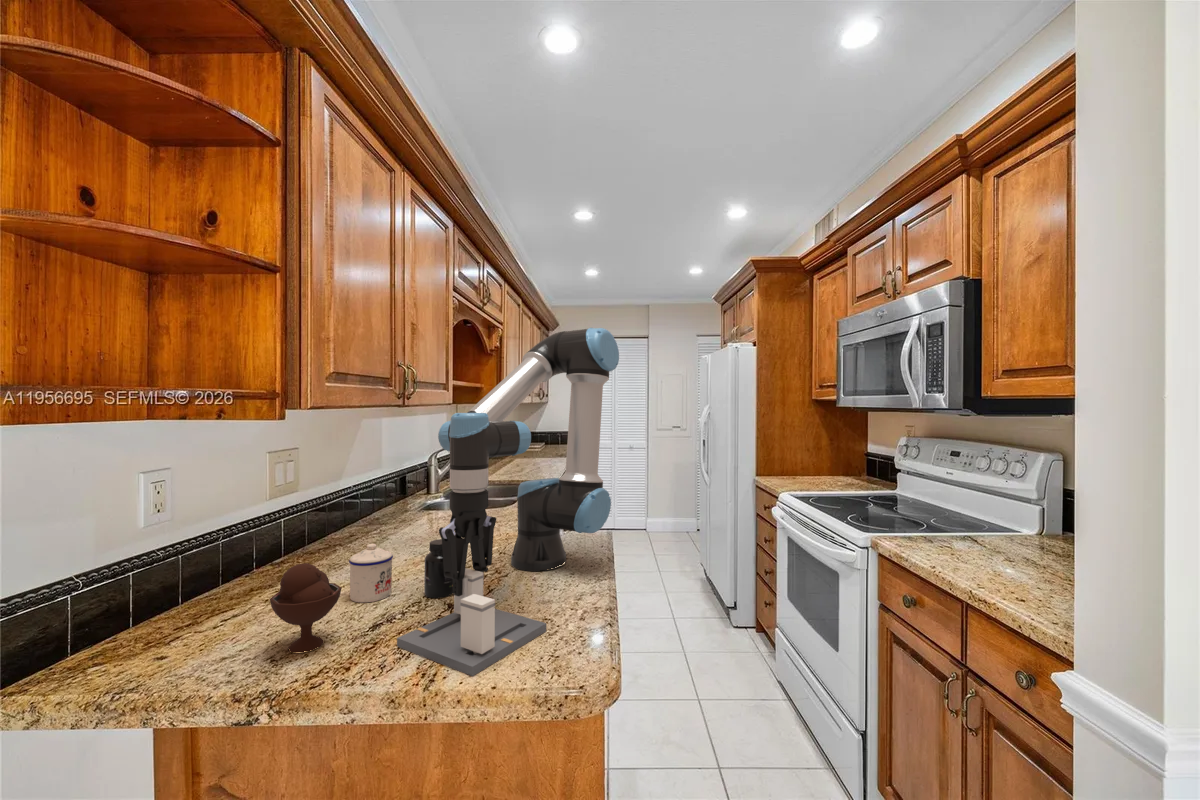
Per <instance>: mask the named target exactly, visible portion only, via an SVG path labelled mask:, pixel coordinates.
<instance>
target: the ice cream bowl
mask: <svg viewBox="0 0 1200 800" xmlns="http://www.w3.org/2000/svg"><path fill="white" fill-rule="evenodd" d="M327 575H328V574H327V573H325V572H324V571H322V570H321V569H319V568H318V567H317V566H316V565H314V564H310V563H308V562H304V563H299V564H298V563H297V564H295V565H293V566H291V567H290V568H288V569H287V570H286V571H285V572H284V573H283V575H282V577H281V578H280V583H279V585H280V587H279V591H278V592H276V593H275V594H274V595H273V596H272V597H270V598H269V602H270V606H271V609H272V611H273V612H274V614H275V615H276V616H277V617H278V618H280V619H281V620H282V621H284V622H285V623H286V624H289V625H291V626H292V625H293V626H299V628H300V636H299V637H298V638H297V639H296V640H293V641H292V643H290V645H289V646H288V648H289V649H290V651H291V652H304V651H310V650H313V649H315V648H317V647H319V648H321V647H322V646H323V645H324V643H325V641H324V639H323V638H322V637H321V636H318V635H315V634H313V629H312V628H313V625H314V624H315V623H316V622H318V621H321V620H322V619H323V618H324V617H326V616H327V614H329V612H330V611H331V610H332V609H333V608H334V607H335V605H336V604H337V603H338V600H339V599H340V596H341V592H342V587H341V586H340V585H338V584H336V583H333V582H330V579H329V577H328V576H327ZM323 642H324V643H323ZM321 645H322V646H321ZM320 646H321V647H320ZM317 649H318V648H317ZM315 650H316V649H315ZM290 651H289V652H290ZM313 651H314V650H313ZM291 652H290V653H291ZM310 652H311V651H310Z"/></svg>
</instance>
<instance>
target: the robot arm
mask: <svg viewBox="0 0 1200 800" xmlns="http://www.w3.org/2000/svg"><path fill="white" fill-rule="evenodd" d="M619 361H620V351H619V346H618V343H617V341H616V339H615V337H614V335H613V334H612V333H611V331H609V330H608V329H606V328H603V327H598V328H597V327H589V328H585V329H575V330H565V331H558V332H555V333H553V334H550V335H548V336H547V337H545V338H543V339H542V340H540V341H539V342H538V343H536V344H535V345H534V346H532V347H531V348H530V349H529V350H528V351H527V352H526V353H525V354H524V355H522V359H521V362H520V364H518V365H517V366H516V367H515V368H514V369H513V370H512V371H510V373H508V374H507V376H505V377H504V378H503V379H502V380H501V381H500V382H499V383H498V384H497V385H495V387H493V388H492V389H491V390H490V391H488V392H487V394H486V395H485V396H483V397H482V398H481V399H480V400H479V401H478V402H477V403H476V404H475V405H474V406H472V407H471V408H470V409H469V410H468V411H467V412H456V413H453V414H452V415H451V417H450V420H447V421H445V422H444V423H443V424H442V425H441V426H440V428H439V430H438V435H437V438H438V443H439V445H440V446H441V448H442V449H443V450H444V451H446V452H449V488H450V489H451V491H450V492H449V510H450V512H451V517H450V520H449V524H447V525H446V526H445V527H439V529H438V533H439V536H440V539H442V551H443V567H444V576H445V577H448V578H452V579H453V594H452V595H453V596H454V595H455V610H456V611H460V612H461V606H460V603H461V599H463V598H465V597H468V578H465V577H464V576H465V568H466V565H467V558H468V550H469V548H470V555H471V561H472V562H471V563H472V570H476V571H480V572H483V575H484V576H485V573H487V572H488V571H489V568H488V567H490V566H491V565H492V563H493V552H494V551H493V548H494V532H495V531H494V530H495V526H496V524H497V517H495V516H489V515H488V514H487V511H486V509H487V508H489V491H488V490H487V488H488V487H489V461H490V460H489V458H491V459H492V458H497V457H507V456H512V457H514V456H517V455H521V454H523V453H524V454H525V453H526V452H527V451H528V449H529V448H530V445H531V443H532V433H531V430H530V428H529V427H528V425H527V424H526V423H525V422H522V421H520V420H519V421H516V420H509V421H507V420H505V419H507V418H508V417H509V416H510V415H511V414H512V413H513V412H514V411H515V410H516V408H517V407H519V406H520V404H521V403H523V402H524V400H525V399H527V397H528V396H529V395H531V393H533V392H534V390H536V388H538V386H539V385H540V384H542V383H546V382H548V381H549V380H551V379H552V377H554V376H556V375H559V374H566V375H565V378H567V379H568V381H569V382H570V384H571V386H570V398H569V399H570V400H569V413H568V416H569V417H568V429H567V430H568V431H567V442H566V443H567V445H566V446H567V447H566V459H565V460H566V462H565V472H564V473H563V474H562V475H561V476H560V477H547V478H546V477H545V478H538V479H531V480H527V481H522V482H520V484H519V485H518V489H517V498H516V500H517V505H516V506H517V537H516V540H515V543H514V547H513V549H512V553H511V556H510V560H511V561H510V564H511V566H512V567H513V568H515V569H517V570H520V571H525V572H526V571H528V572H541V571H540V570H545V571H548V570H547V569H551V568H555V567H557V566H559V565H562V564H563V563H564V562H565V561H566V562H567V554H566V550H565V547H564V544H563V541H562V540H563V539H562V536H561V530H565V531H571V532H576V533H578V534H584V533H585V534H594V533H597V532H599V531H600V530H601V529H603V527H604V525H605V524H606V522H607V520H608V519H609V515H610V512H611V507H612V506H611V505H612V500H611V499H612V498H611V497H610V493H609V491H608V490H607V489H605V488H604V480H603V479H602V478H601V477H600V476H599V473H598V472H599V459H600V458H599V457H600V442H601V424H602V411H603V410H602V409H603V408H602V407H603V392H604V385H605V383H607V382H608V381H609V380H610V372H612V371H614V370H615V369H617V367H618V365H619ZM469 544H470V545H469ZM468 547H469V548H468ZM484 579H485V577H484V578H483V585H484V584H485V583H484V582H485V581H484Z"/></svg>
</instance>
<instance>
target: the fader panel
mask: <svg viewBox="0 0 1200 800" xmlns="http://www.w3.org/2000/svg"><path fill="white" fill-rule="evenodd" d="M546 632H547V622H543V621H539V620H537V619H533V618H529V617H526V616H521V615H518V614H515V613H513V612H509V611H505V610H501V609H498V608H495V647H493V648H492V649H490V650H488V651H486V652H485V653H483V654H480V653H476V654H474V653H473V651H472V650H469V649H466V648H463V647H461V615H460V614H457V613H454V612H451V613H450V614H448V615H445V616H443V617H440V618H439V619H436V620H433V621H432V622H430V623H428V624H425V625H423V626H421V627H418V628H417V629H414V630H412V631H410V632H407V633H405V634H402V635H401V636H398V637H396V647H397V646H398V647H397V648H400V649H403V650H405V651H407V652H410V653H413V654H415V655H418V656H419V657H422V658H425V659H428V660H431V661H432V662H436V663H438V664H441V665H442V666H445V667H448V668H450V669H453V670H456V671H458V672H461V673H463V674H465V675H467V676H471V677H474V676H475V675H477V674H479V673H480V672H482V671H484V670H485V669H487V668H489V667H490V666H492V665H493V664H495V663H497V662H498V661H500V660H502V659H503V658H505V657H507V656H508V655H510V654H511V653H514V652H516V650H518V649H520V648H521V647H523V646H525V645H526V644H528V643H529V642H531V641H533V640H535V639H536V638H537V637H539V636H540V635H542V634H544V633H546Z"/></svg>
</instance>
